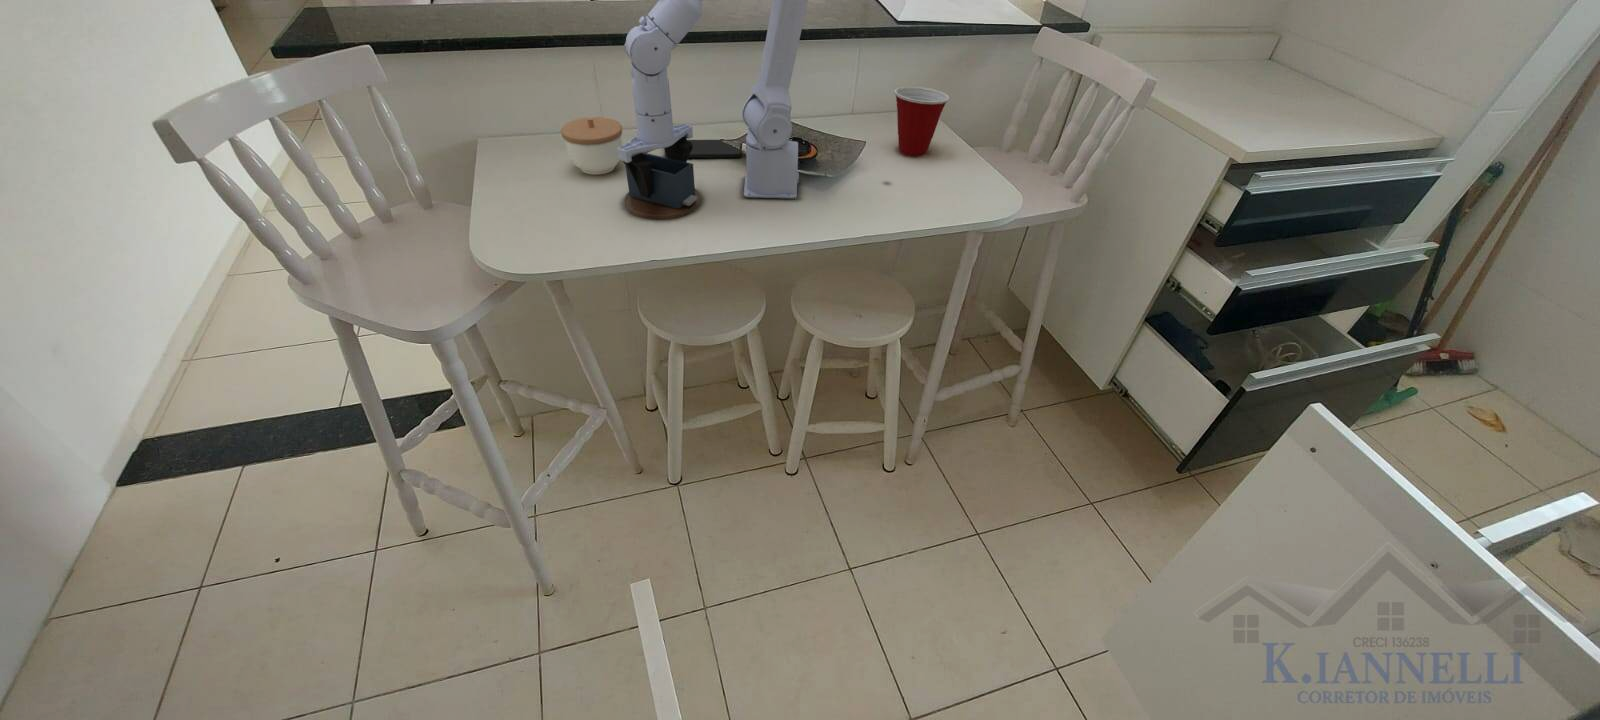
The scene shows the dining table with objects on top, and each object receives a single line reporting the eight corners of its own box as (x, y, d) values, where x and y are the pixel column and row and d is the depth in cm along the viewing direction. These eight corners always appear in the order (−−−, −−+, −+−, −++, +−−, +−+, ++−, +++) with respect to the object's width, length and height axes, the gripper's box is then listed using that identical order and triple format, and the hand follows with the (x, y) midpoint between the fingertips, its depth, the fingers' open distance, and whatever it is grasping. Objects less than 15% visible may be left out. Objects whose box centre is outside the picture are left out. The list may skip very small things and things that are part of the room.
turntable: (703, 186, 121) (703, 182, 121) (696, 220, 112) (696, 216, 111) (632, 184, 121) (631, 180, 120) (618, 218, 111) (618, 214, 111)
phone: (741, 154, 131) (664, 154, 129) (741, 158, 131) (664, 158, 129) (739, 139, 136) (665, 139, 134) (739, 143, 137) (665, 143, 135)
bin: (701, 197, 116) (699, 165, 112) (685, 210, 112) (682, 177, 108) (647, 184, 119) (643, 152, 115) (629, 196, 115) (624, 163, 111)
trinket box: (613, 183, 121) (605, 133, 115) (558, 176, 122) (547, 126, 116) (636, 159, 129) (629, 111, 123) (584, 153, 130) (575, 105, 124)
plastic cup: (947, 149, 139) (958, 90, 131) (926, 166, 131) (936, 105, 124) (901, 136, 143) (908, 79, 135) (877, 153, 136) (884, 93, 128)
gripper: (669, 92, 112) (676, 168, 121) (600, 115, 103) (613, 195, 112) (699, 103, 109) (704, 180, 118) (630, 127, 100) (641, 208, 109)
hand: (661, 188), depth 115 cm, fingers closed on bin, 6 cm apart
